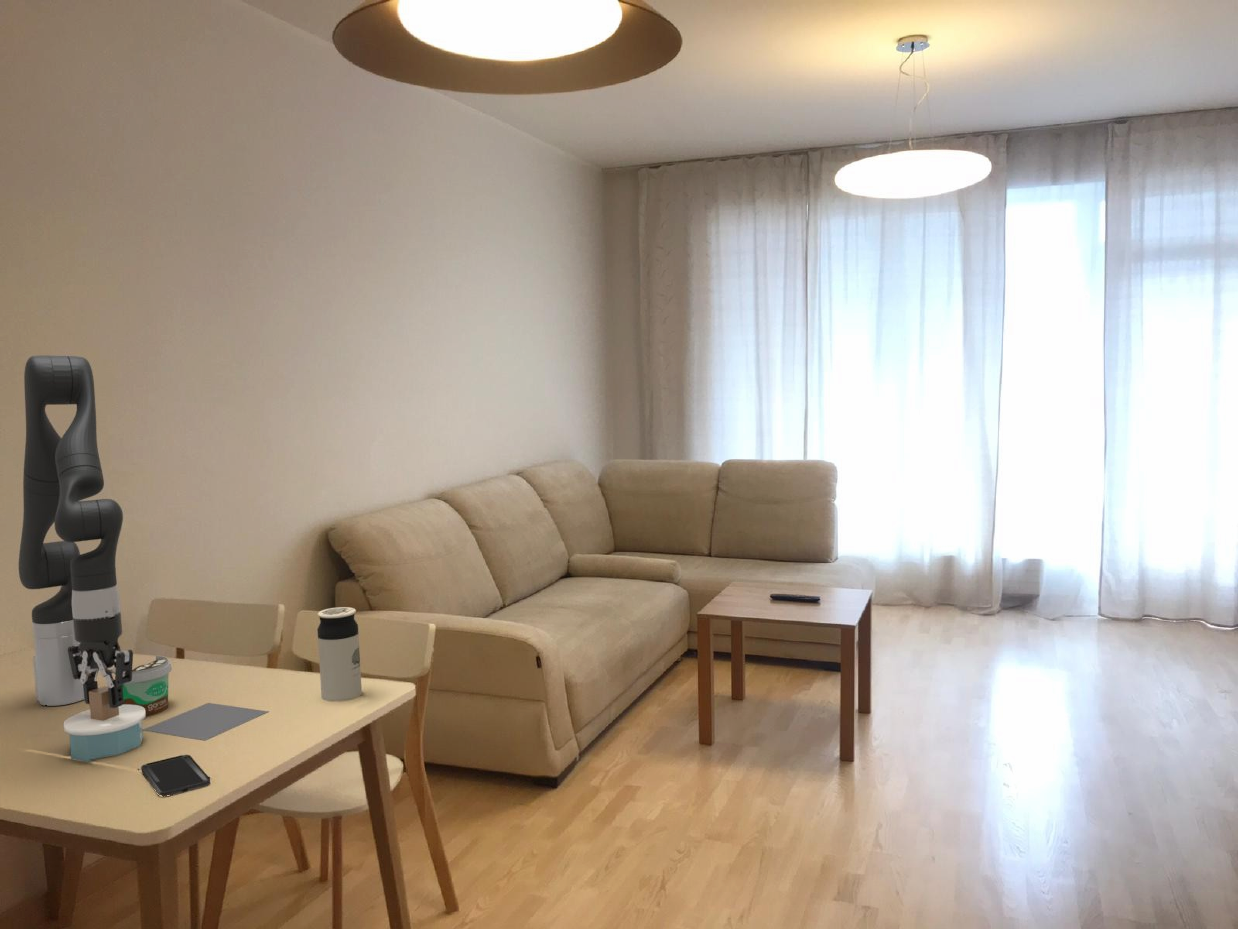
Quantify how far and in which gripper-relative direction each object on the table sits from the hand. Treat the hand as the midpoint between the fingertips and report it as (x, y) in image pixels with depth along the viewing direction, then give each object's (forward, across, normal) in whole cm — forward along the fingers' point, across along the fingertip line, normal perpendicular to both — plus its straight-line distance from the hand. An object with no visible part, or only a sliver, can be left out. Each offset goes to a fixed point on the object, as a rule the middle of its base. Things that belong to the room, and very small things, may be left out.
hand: (104, 704), depth 175 cm
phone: (+9, +22, -5) cm, 24 cm away
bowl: (+8, 0, 0) cm, 8 cm away
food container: (+9, -8, +17) cm, 21 cm away
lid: (+3, 0, 0) cm, 3 cm away
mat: (+8, +7, +16) cm, 19 cm away
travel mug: (+9, +22, +37) cm, 44 cm away
